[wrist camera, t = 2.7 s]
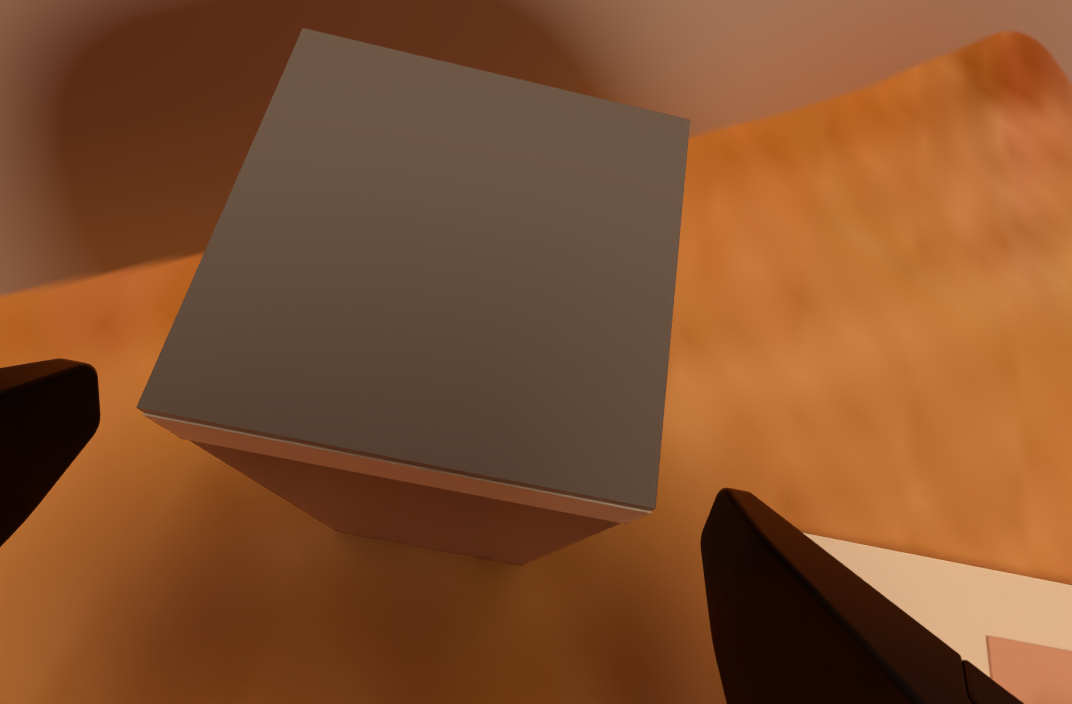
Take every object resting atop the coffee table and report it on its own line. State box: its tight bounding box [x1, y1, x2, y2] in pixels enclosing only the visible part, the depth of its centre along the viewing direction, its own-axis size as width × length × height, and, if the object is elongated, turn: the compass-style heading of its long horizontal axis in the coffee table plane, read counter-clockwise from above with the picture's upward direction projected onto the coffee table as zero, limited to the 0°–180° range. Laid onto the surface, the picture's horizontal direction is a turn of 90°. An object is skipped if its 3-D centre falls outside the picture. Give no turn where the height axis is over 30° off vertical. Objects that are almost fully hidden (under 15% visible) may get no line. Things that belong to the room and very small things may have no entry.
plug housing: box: [136, 28, 690, 565], centre depth 13 cm, size 5×5×12 cm
